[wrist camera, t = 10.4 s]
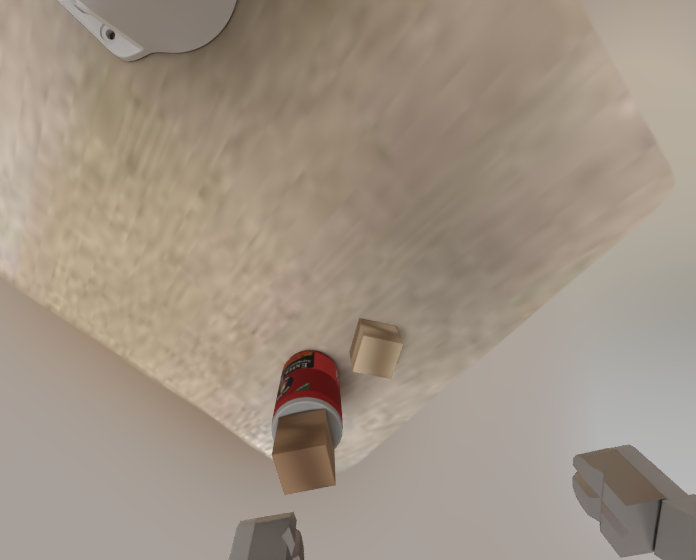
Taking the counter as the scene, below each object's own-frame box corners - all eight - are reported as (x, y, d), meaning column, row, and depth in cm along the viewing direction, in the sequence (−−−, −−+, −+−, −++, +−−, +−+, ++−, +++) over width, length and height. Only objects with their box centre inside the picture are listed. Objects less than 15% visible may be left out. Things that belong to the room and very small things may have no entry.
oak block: (349, 350, 47) (352, 371, 42) (359, 318, 46) (363, 335, 41) (384, 357, 48) (391, 378, 43) (395, 325, 46) (403, 343, 41)
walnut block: (289, 453, 38) (284, 494, 33) (278, 417, 36) (271, 454, 32) (334, 445, 38) (335, 485, 33) (325, 408, 36) (325, 444, 32)
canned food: (307, 337, 46) (302, 388, 35) (350, 371, 48) (358, 429, 38) (270, 375, 47) (255, 434, 37) (313, 407, 49) (311, 471, 39)
